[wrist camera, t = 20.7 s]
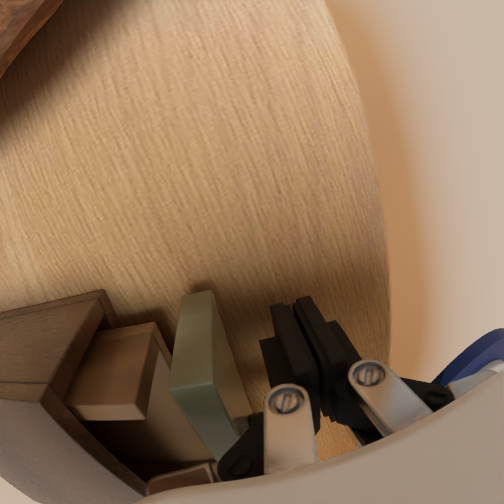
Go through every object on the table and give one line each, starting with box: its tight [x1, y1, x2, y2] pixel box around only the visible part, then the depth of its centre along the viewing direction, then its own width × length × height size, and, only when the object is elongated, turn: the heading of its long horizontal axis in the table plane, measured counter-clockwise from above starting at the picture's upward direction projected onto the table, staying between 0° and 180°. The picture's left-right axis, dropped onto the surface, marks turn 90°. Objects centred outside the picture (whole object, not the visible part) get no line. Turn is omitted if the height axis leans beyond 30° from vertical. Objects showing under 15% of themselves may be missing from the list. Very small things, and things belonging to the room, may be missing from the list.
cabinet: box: [0, 290, 147, 504], centre depth 10 cm, size 15×14×7 cm
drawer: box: [61, 290, 263, 483], centre depth 10 cm, size 15×12×5 cm
